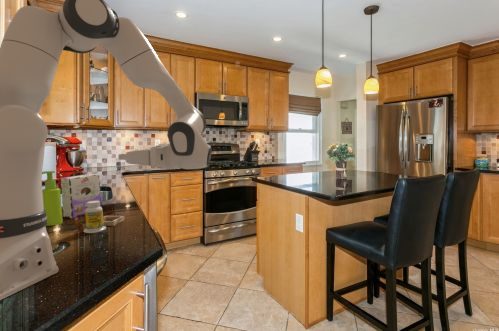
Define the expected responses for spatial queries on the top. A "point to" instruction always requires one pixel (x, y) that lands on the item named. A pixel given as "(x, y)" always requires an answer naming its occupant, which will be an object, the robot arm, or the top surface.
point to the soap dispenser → (52, 200)
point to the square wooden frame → (115, 220)
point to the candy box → (79, 193)
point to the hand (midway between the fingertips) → (126, 156)
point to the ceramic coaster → (94, 231)
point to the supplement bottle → (94, 216)
